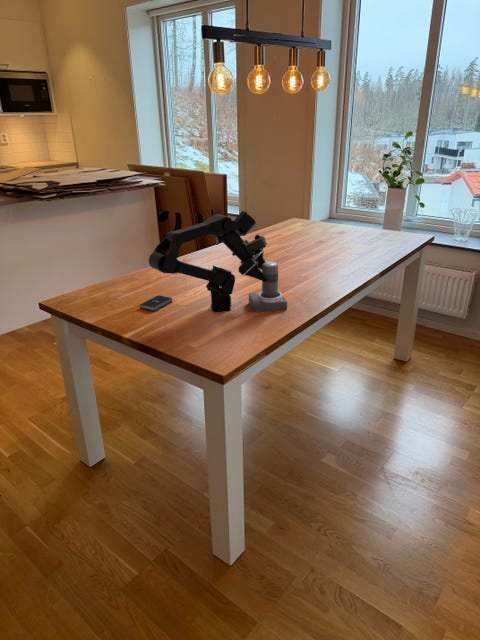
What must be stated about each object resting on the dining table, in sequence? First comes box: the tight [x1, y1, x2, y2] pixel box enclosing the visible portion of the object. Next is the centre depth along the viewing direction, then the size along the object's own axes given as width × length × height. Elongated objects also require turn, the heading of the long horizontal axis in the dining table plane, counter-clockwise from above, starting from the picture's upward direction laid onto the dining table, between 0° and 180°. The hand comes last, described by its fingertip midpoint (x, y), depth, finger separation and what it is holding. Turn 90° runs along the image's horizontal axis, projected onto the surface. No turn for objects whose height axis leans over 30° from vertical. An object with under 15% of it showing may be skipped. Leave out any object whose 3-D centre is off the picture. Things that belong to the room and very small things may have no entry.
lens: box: [261, 261, 279, 298], centre depth 157 cm, size 6×6×13 cm
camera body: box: [248, 290, 288, 313], centre depth 160 cm, size 12×9×4 cm
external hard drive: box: [139, 294, 173, 313], centre depth 164 cm, size 7×11×2 cm, turn 150°
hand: (268, 276), depth 156 cm, fingers open, 9 cm apart
